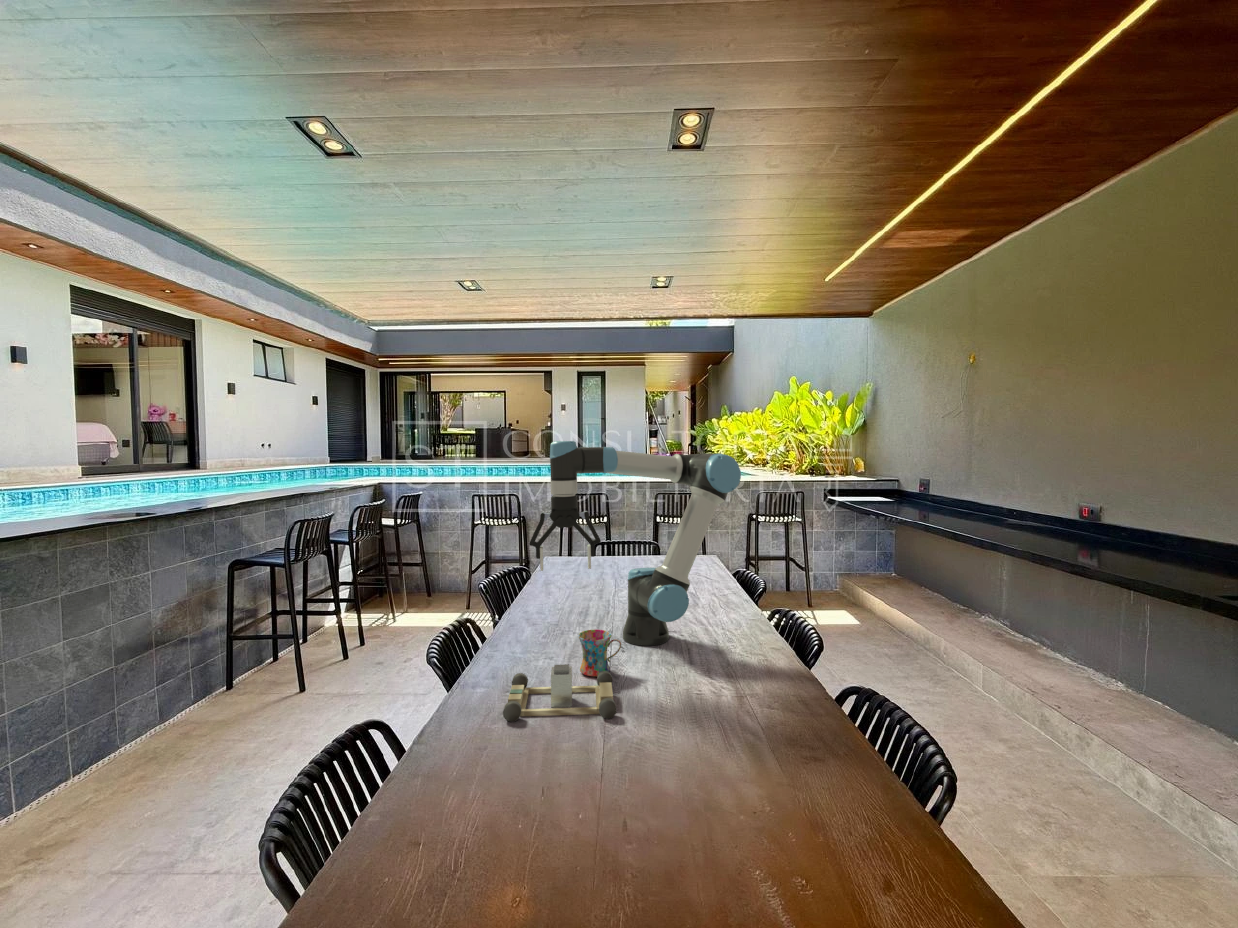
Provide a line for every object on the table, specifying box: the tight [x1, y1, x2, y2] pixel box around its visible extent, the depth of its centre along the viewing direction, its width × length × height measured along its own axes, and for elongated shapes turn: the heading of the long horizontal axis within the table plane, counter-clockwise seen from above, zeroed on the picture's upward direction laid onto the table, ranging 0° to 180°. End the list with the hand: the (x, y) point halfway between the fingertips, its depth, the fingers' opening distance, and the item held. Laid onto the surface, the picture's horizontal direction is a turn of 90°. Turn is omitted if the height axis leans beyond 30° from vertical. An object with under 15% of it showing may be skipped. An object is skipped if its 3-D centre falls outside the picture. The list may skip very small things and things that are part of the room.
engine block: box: [550, 663, 573, 708], centre depth 139 cm, size 5×5×9 cm
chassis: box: [502, 671, 617, 723], centre depth 139 cm, size 26×18×4 cm
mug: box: [577, 629, 622, 677], centre depth 157 cm, size 12×9×11 cm
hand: (565, 568), depth 162 cm, fingers open, 13 cm apart
